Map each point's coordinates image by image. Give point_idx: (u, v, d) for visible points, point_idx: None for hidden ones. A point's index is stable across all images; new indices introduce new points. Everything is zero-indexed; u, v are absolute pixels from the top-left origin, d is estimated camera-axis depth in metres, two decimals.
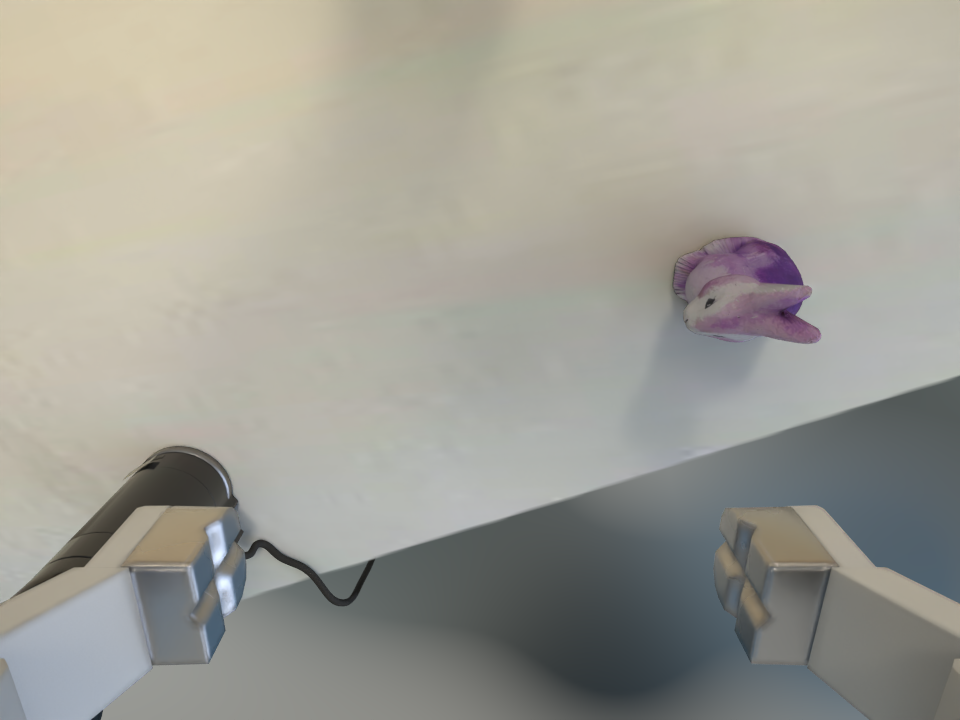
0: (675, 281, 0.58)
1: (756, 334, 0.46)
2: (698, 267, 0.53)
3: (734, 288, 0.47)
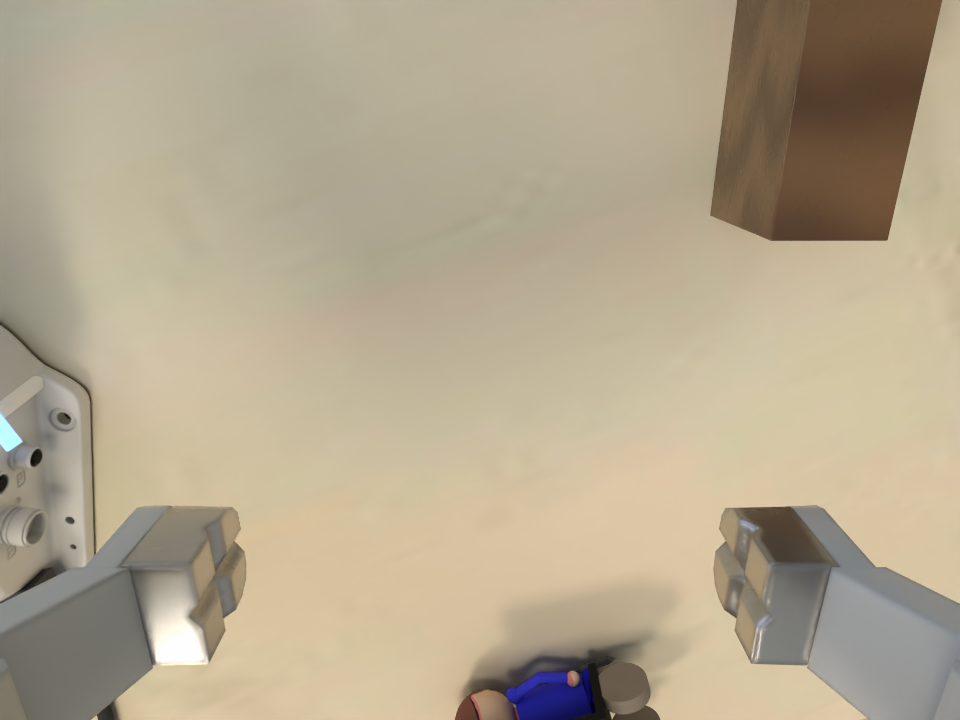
0: None
1: None
2: None
3: None
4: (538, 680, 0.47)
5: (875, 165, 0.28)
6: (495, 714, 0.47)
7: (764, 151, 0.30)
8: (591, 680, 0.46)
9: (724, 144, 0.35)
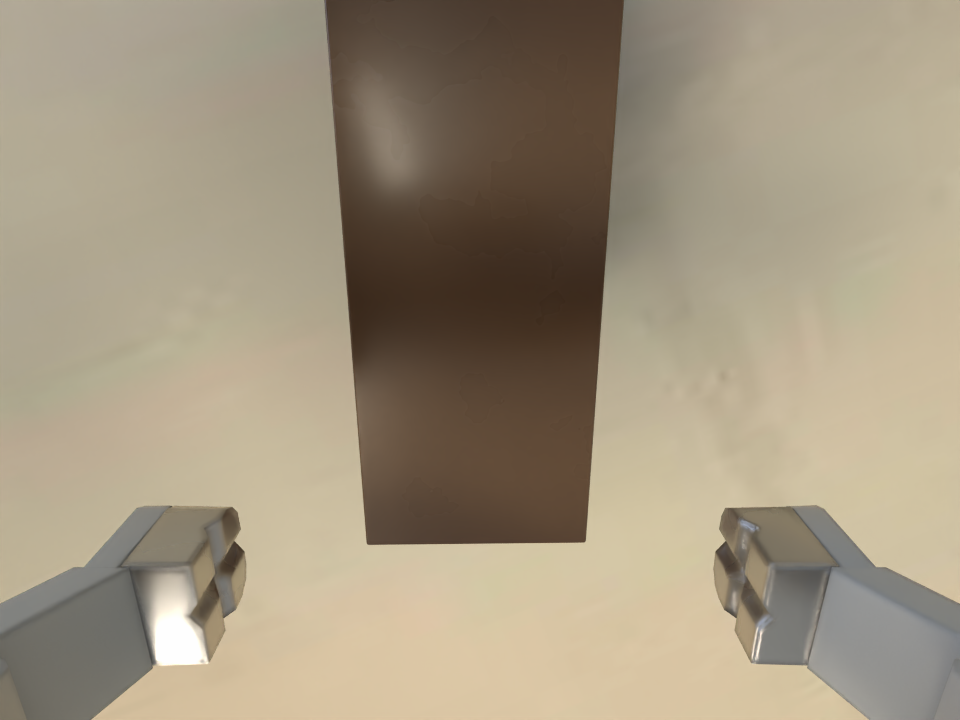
0: None
1: None
2: None
3: None
4: None
5: (536, 421, 0.15)
6: None
7: None
8: None
9: None
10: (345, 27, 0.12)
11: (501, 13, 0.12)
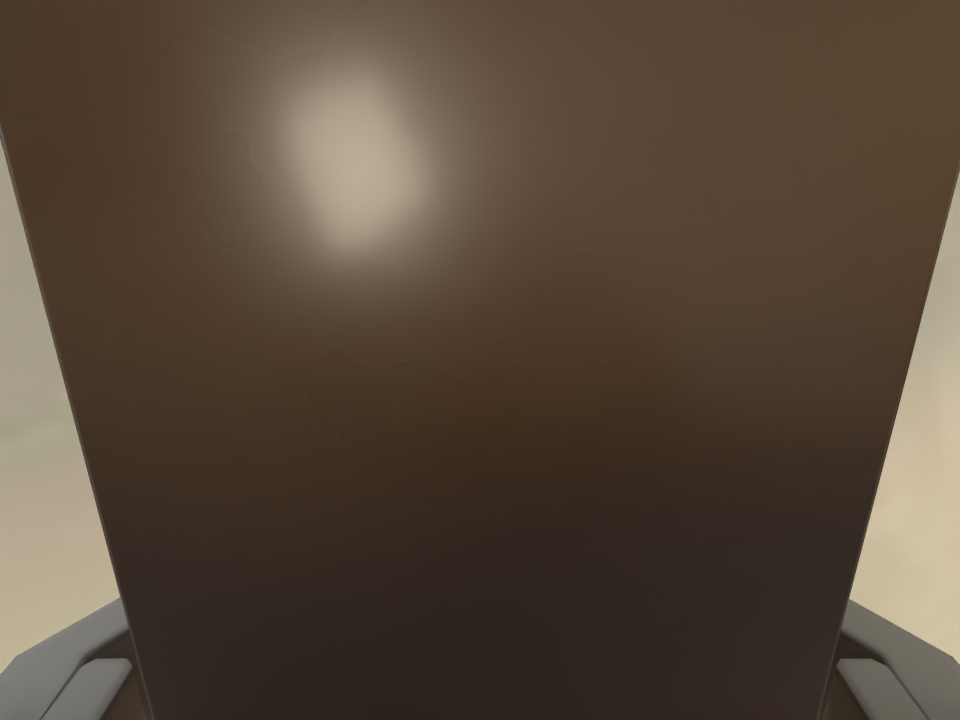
0: None
1: None
2: None
3: None
4: None
5: None
6: None
7: None
8: None
9: None
10: None
11: None
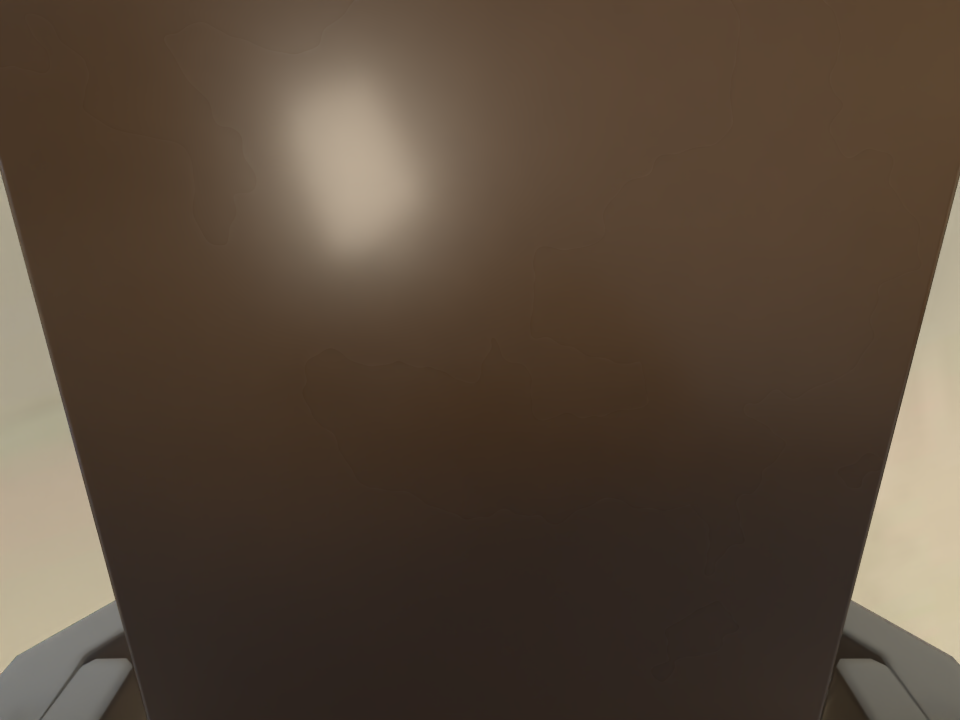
0: None
1: None
2: None
3: None
4: None
5: None
6: None
7: None
8: None
9: None
10: None
11: None
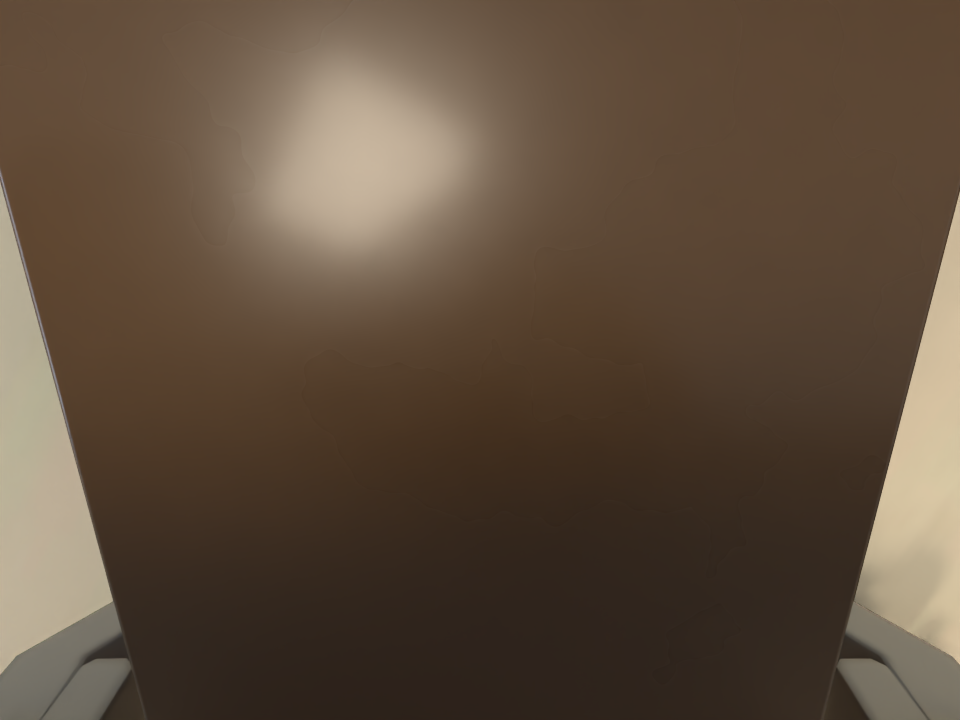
0: None
1: None
2: None
3: None
4: None
5: None
6: None
7: None
8: None
9: None
10: None
11: None
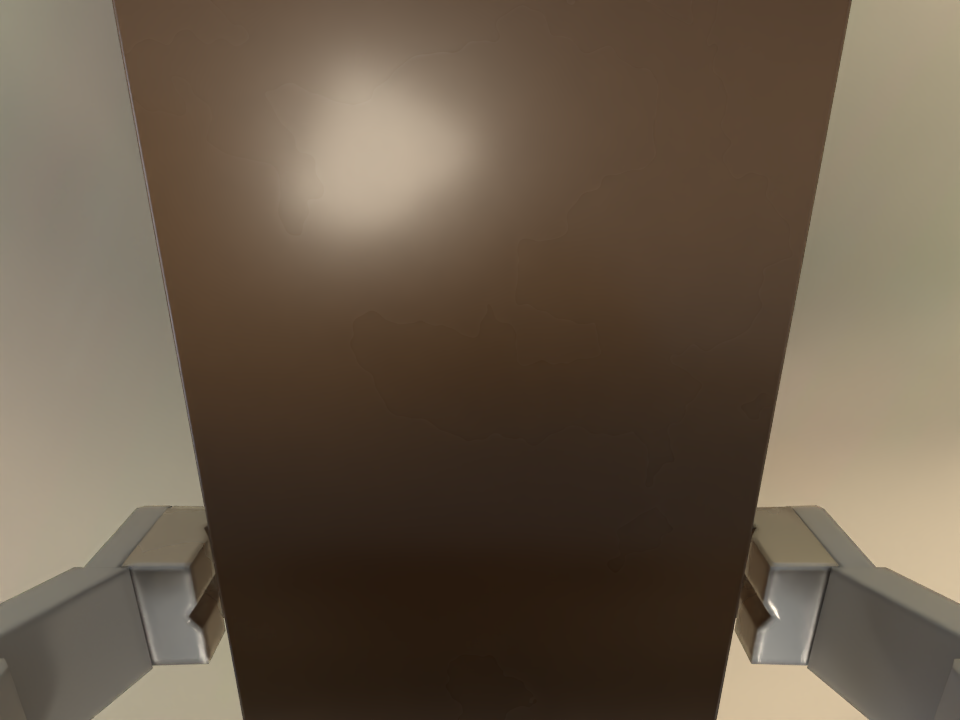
0: None
1: None
2: None
3: None
4: None
5: None
6: None
7: None
8: None
9: None
10: None
11: None
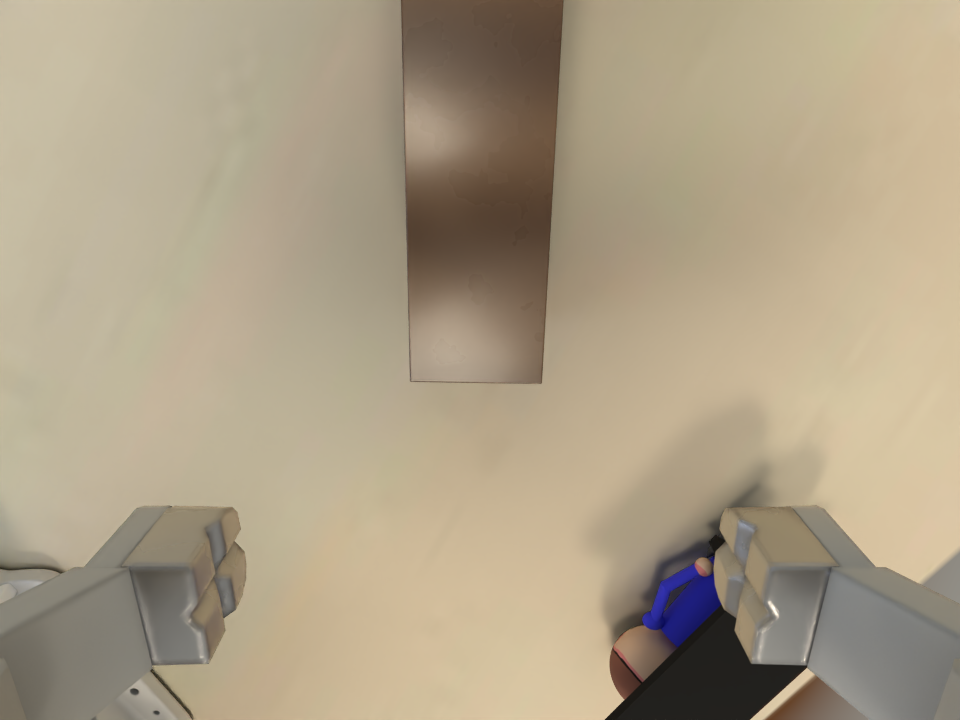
0: None
1: None
2: None
3: None
4: (664, 590, 0.37)
5: (512, 305, 0.25)
6: (643, 652, 0.37)
7: None
8: None
9: None
10: (413, 79, 0.22)
11: (495, 74, 0.22)
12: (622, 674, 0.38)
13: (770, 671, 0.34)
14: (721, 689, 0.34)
